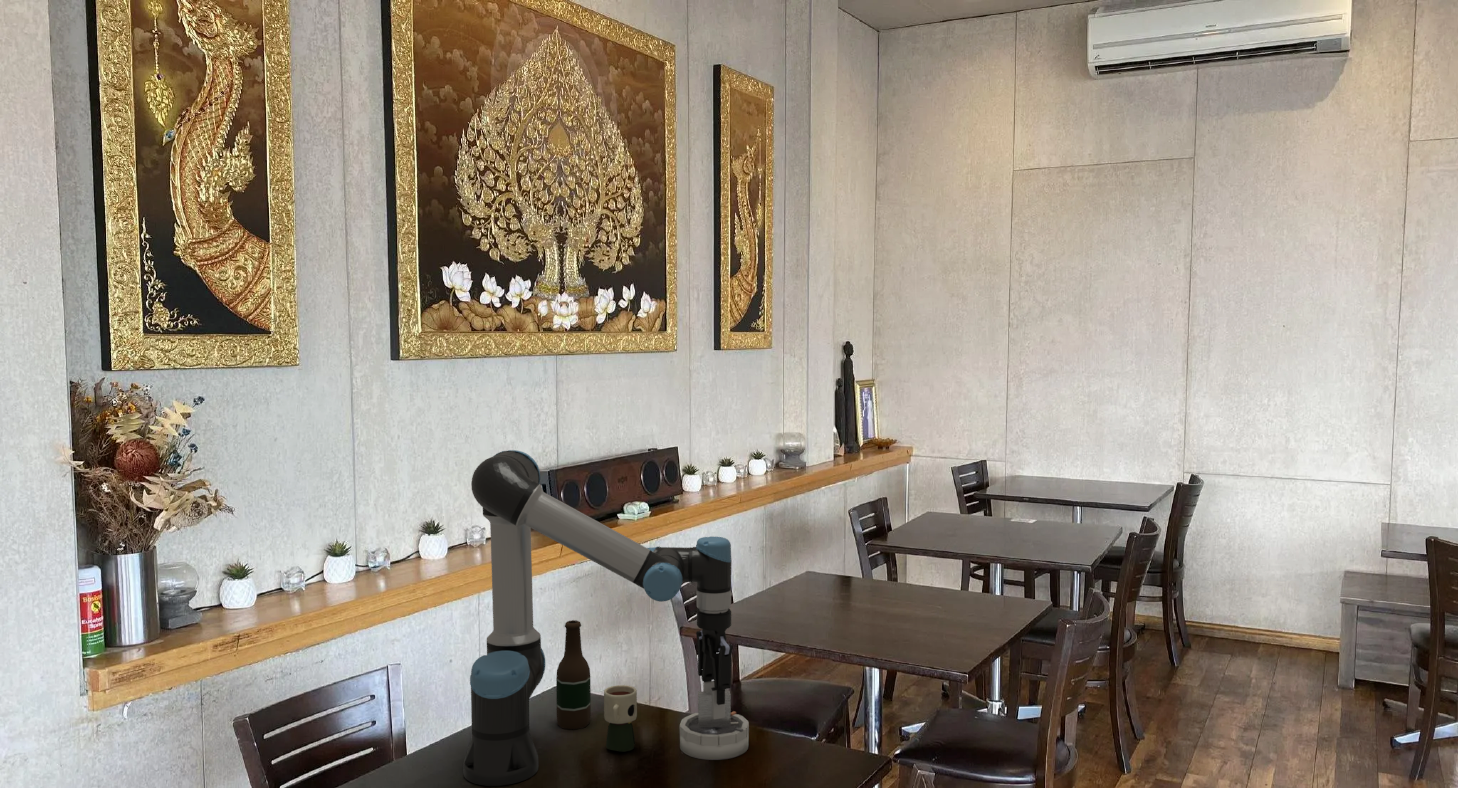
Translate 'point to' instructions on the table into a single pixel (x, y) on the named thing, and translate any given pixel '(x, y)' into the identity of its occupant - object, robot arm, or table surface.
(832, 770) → the table surface
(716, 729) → the dial
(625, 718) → the character mug
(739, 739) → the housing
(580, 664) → the beer bottle
